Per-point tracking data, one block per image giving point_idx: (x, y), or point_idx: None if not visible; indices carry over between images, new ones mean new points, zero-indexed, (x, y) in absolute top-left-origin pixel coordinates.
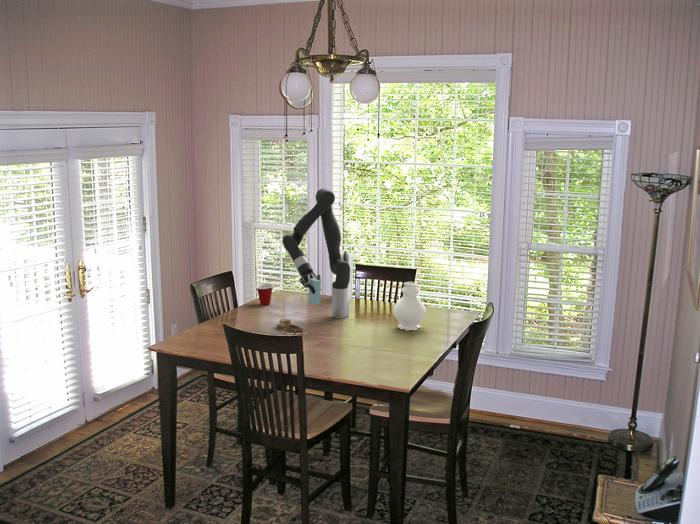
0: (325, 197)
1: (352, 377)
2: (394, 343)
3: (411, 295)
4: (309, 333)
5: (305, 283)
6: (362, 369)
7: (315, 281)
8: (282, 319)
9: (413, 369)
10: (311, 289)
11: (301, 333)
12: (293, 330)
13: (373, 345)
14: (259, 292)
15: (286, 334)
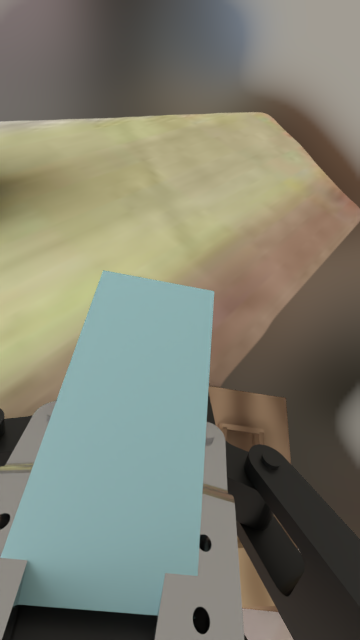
0: None
1: (308, 165)
2: (96, 186)
3: None
4: (209, 389)
5: (325, 502)
6: (271, 168)
7: (212, 310)
8: (262, 595)
9: (203, 124)
10: (209, 408)
11: (232, 412)
12: (261, 438)
13: (145, 209)
14: None
15: (288, 447)
